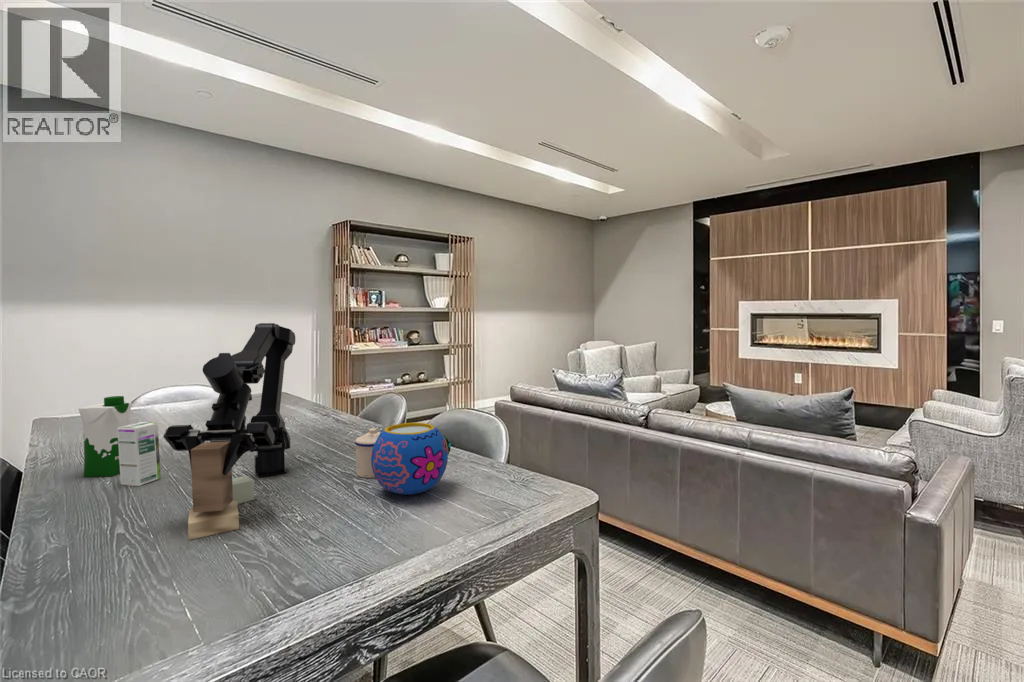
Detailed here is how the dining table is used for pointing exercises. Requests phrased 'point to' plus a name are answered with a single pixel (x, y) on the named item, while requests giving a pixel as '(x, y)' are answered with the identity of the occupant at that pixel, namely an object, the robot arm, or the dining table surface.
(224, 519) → the oak slab
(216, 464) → the walnut block
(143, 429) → the syrup box
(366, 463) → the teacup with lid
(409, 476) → the ceramic pot
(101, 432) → the milk carton
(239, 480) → the sage cube
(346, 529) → the dining table surface
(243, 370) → the robot arm
